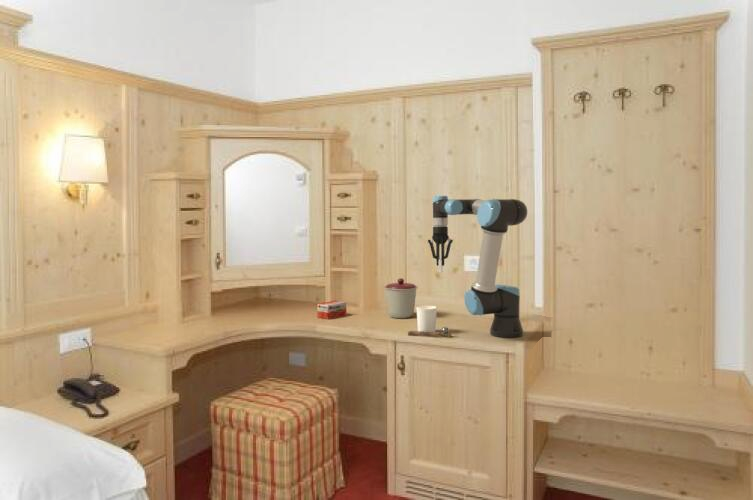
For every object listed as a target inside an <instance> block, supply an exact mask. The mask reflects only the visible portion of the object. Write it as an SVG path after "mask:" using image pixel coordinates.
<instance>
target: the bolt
mask: <svg viewBox="0 0 753 500" xmlns="http://www.w3.org/2000/svg"><path fill="white" fill-rule="evenodd" d="M441 329H442V330H441V332H442V333H443V334H448V333H449V327H448V326H447V327H446V326H445V327H442V328H441Z"/></svg>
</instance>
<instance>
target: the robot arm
mask: <svg viewBox="0 0 753 500" xmlns="http://www.w3.org/2000/svg"><path fill="white" fill-rule="evenodd" d="M448 215H450V216H456V215H458V216H459V215H474V216H477V217H476V218H477V222H478V225H480V229H481V230H482V232H483V234H482V240H481V241H482V242H481V246H480V251H479V257H478V258H479V259H478V264H477V266H478V267H477V272H476V277H475V281H473V282H472V284H471V286H470V289H468V290H466V291H465V294H464V299H463V300H464V305H465V307H466V310H467V311H468V312H469V313H470V315H473V316H484V315H492V314H493V319H492V323H491V325H490V329H489V335H491V336H494V337H497V338H498V337H499V338H519V336H520V335H522V334H523V335H524V329H523V326H522V323H521V320H520V297H521V295H520V289H519V287H517V286H513V285H505V284H496V277H497V274H498V266H499V261H500V256H501V255H500V254H501V249H502V244H503V239H504V238H503V237H504V235H505V234H506V233H507V232H508V229H509V226H510V227H511V226H517V225H520V224H521V223H523V222H524V221H525V220H526V218H527V217H528V208H527V205H526V204H525V203H524V202H523V201H522V200H520V199H514V198H513V199H512V198H511V199H509V198H507V199H501V198H499V199H497V198H496V199H495V198H493V199H487V200H483V199H478V198H474V199H473V198H472V199H461V198H460V199H456V198H455V199H452V198H451V199H449V198H448V196H447V195H434V196H433V198H432V226H433V227H432V236H431V238H430V239H428V240H427V243H428V244H429V247H430V251H431V255H432V258H433V259H435V260H436V266H437V267H438V273H443V267H444V266H445V259H446V260H447V259H448V258H449V253H450V249H451V247H452V243H453V242H454V240H453V239H451V238H449V235H448V234H449V229H448V223H449V222H448V221H449V219H448V218H449V217H448ZM433 242H434V243H435V246H434V243H433ZM446 243H447V245H446V246H447V247H446V249H445V244H446ZM440 246H441V247H440ZM435 247H436V249H435ZM440 249H441V250H440ZM435 250H436V251H435ZM440 252H441V253H440ZM440 254H441V256H440ZM440 257H441V258H440ZM523 335H522V336H523ZM520 337H521V336H520Z"/></svg>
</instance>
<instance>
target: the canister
mask: <svg viewBox="0 0 753 500" xmlns="http://www.w3.org/2000/svg"><path fill="white" fill-rule="evenodd" d="M383 288H384V289H385V296H386V297H385V298H386V305H387V312H388V315H389V316H390V317H391V318H393V319H408V318H409V319H410V318H412V316H413V315H414V313H415V308H416V306H415V305H416V297H417V295H416V294H417V289H418V286H417V285H415V284H413V283H410V282H405V280H404V279H403V278H398V279H397V282H393V283H388V284H386V285H385V286H384V287H383Z"/></svg>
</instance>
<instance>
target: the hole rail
mask: <svg viewBox="0 0 753 500" xmlns="http://www.w3.org/2000/svg"><path fill="white" fill-rule="evenodd" d="M407 336H412V337H429V338H431V337H432V338H447V339H449V338H451V337H452V332H448V334H443V333H442V331H441V332H439V331H435V332H424V331H418V330H409V331H408V332H407Z"/></svg>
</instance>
